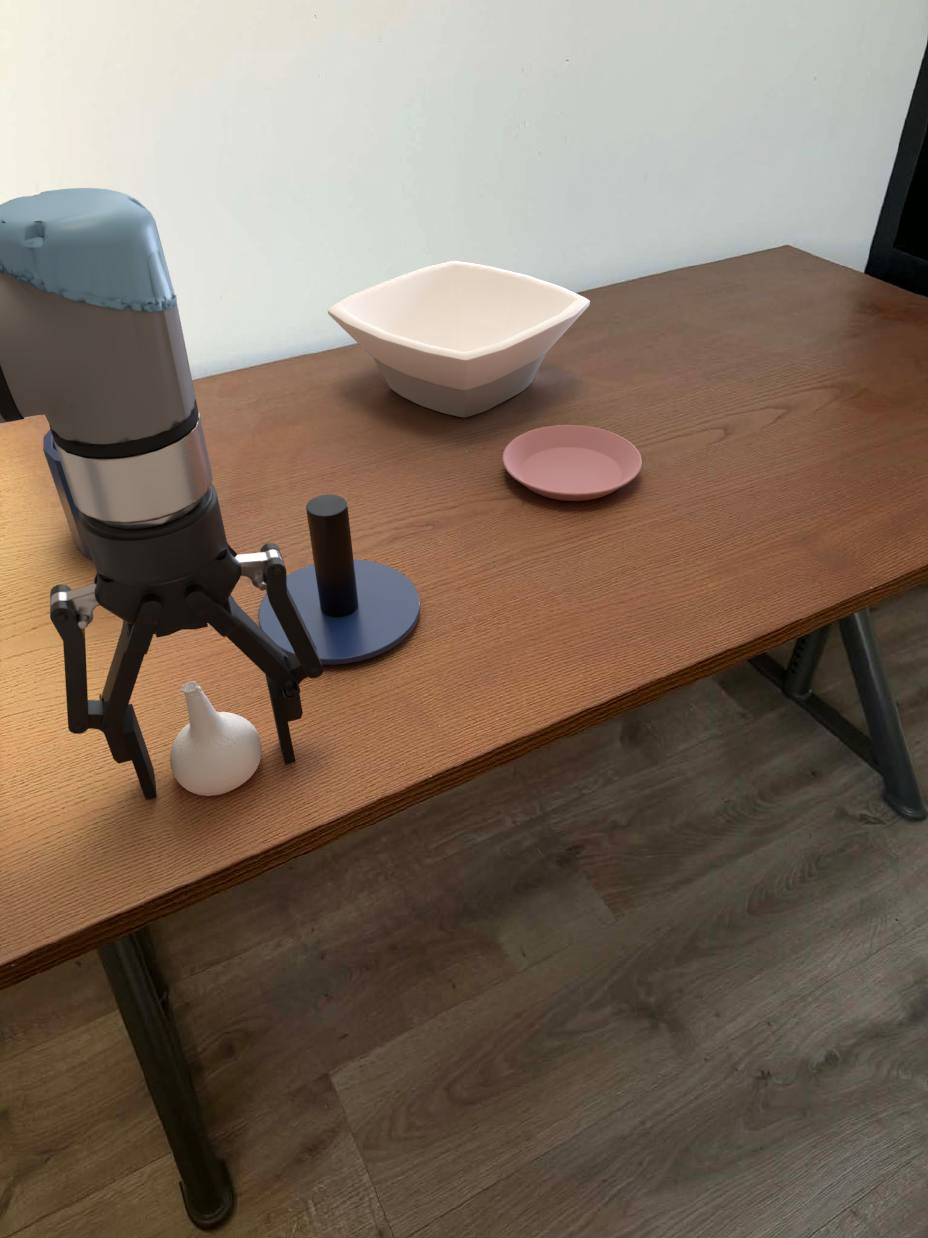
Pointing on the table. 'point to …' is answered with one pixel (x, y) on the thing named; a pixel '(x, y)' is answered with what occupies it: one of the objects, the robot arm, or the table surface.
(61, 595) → the robot arm
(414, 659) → the table surface
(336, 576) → the lid
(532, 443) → the plate
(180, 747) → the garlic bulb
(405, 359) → the bowl
